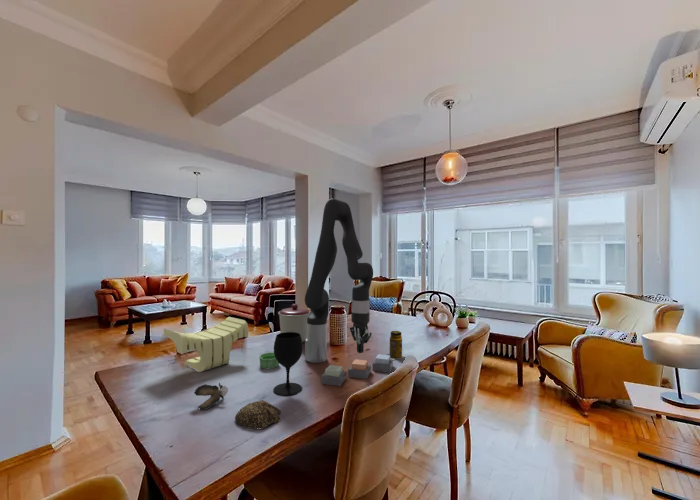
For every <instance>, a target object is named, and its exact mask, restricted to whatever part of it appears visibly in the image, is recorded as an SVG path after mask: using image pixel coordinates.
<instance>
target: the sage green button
mask: <svg viewBox="0 0 700 500" xmlns="http://www.w3.org/2000/svg"><path fill="white" fill-rule="evenodd" d="M343 370H344V369H343V366H340V365H333V364H329V365H328V366H327V367H326V368H325V369H324V372H325V375H327V376H334V377H339V376H340V375H341V374H342V373H343Z"/></svg>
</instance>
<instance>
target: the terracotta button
mask: <svg viewBox="0 0 700 500" xmlns="http://www.w3.org/2000/svg"><path fill="white" fill-rule="evenodd" d="M368 363H369V362H368V360H366V359H365V360H364V359H357V358H356V359H354V360H353V361H352V363H351V365H352V369H357V370H366V368H367V367H368V365H369V364H368Z"/></svg>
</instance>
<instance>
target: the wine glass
mask: <svg viewBox="0 0 700 500" xmlns="http://www.w3.org/2000/svg"><path fill="white" fill-rule="evenodd" d="M303 346H304V345H303V342H302V339H301V335H300V334H299V333H296V332H284V333H281V332H280V333H277V334H276V335H275V339H274V342H273V353H274V355H275V358H276V360H277V361H278V362H279V365H281V366H282V367H284V368H285V371H286V380H285V381H286V382H283V383H280V384H277V385H276V386H274V387H273V390H272V392H273V393H274V395H276V396H277V395H278V396H280V397H291V396H295V395H298V394H299V393H301V392H302V390H303V387H302V385H301V384H299V383H296V382H290V371H291V368H292V367H293V366H295V364H296V363H298V362H299V360H300V359H301V357H302V353H303Z"/></svg>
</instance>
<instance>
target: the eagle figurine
mask: <svg viewBox="0 0 700 500" xmlns="http://www.w3.org/2000/svg"><path fill="white" fill-rule="evenodd" d="M228 392H229V388H228V387H227V386H226V385H222V384H221V383H220V382H218V386H217V385H210V384H206V383H205V384H202V385H200V386H198V387H197V388H196V389H195V390H194V391H193V393H194V395H195V396H197V397H198V396H202V397H206V396H210V397H209V398H208V399H206V400H205V401H204V402H202V403H201V404H200V405H198V406H197V409H198V408H200V409H202V410H203V409H204V410H208V409H209V408H211V407H212V406H213V405H214V404H216V403H218V402H219V401H220V400H221V399H222V400H225V397H226V395H228Z"/></svg>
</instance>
